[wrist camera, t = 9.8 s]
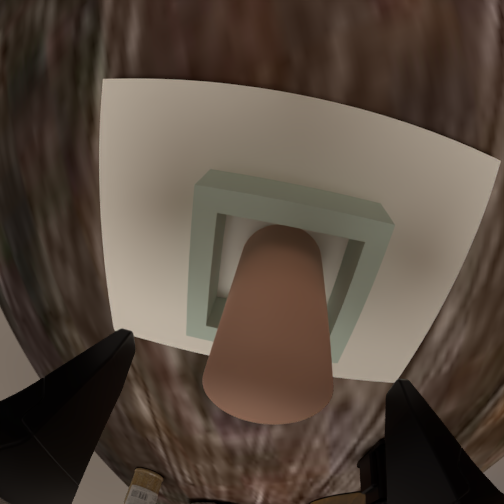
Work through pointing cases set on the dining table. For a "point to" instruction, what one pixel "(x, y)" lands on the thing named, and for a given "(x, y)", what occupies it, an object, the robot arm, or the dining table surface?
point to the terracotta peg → (273, 333)
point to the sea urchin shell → (203, 503)
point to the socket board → (281, 211)
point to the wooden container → (343, 499)
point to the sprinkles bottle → (143, 487)
